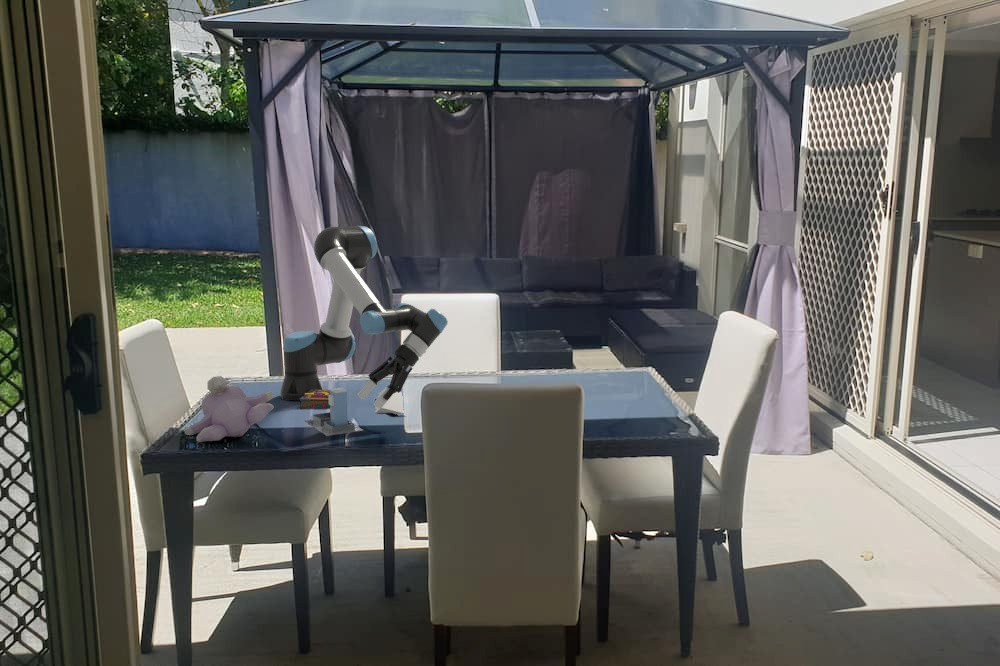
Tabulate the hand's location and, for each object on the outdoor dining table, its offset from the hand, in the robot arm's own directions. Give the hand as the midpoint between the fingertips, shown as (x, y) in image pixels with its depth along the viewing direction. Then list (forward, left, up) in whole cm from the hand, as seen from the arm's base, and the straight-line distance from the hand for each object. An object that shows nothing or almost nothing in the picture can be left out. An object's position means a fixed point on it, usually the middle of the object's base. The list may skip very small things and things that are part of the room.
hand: (368, 402), depth 274 cm
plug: (0, -10, -7) cm, 12 cm away
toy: (-19, -38, -9) cm, 44 cm away
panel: (-5, -10, -9) cm, 14 cm away
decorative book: (-35, -3, -9) cm, 36 cm away
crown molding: (-23, +18, -9) cm, 31 cm away
